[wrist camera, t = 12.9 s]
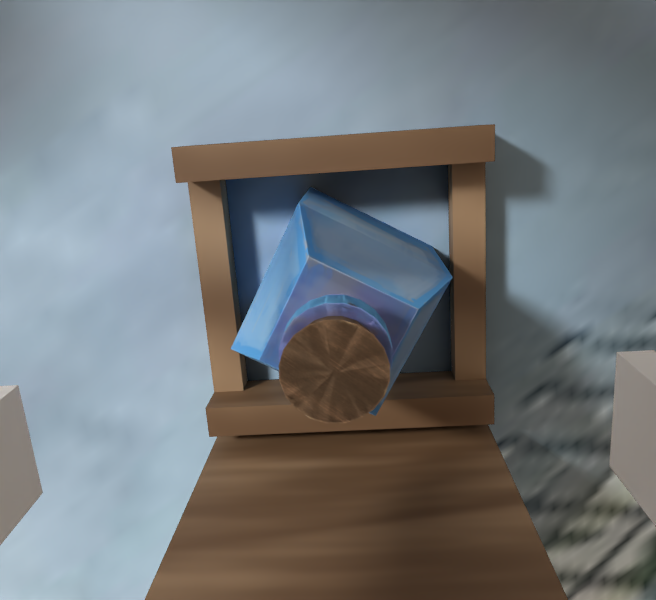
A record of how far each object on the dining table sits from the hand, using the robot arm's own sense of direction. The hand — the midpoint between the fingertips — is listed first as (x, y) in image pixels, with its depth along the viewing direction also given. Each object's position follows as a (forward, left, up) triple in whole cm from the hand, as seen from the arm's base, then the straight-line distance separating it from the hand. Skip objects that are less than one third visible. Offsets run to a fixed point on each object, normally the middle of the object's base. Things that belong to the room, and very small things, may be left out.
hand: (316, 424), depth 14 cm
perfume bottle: (0, 0, -16) cm, 16 cm away
